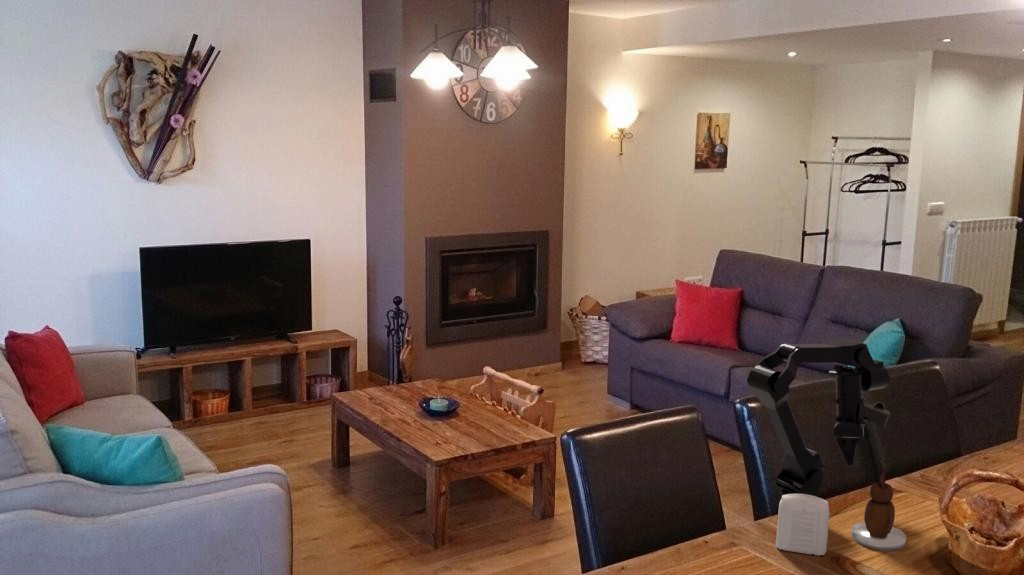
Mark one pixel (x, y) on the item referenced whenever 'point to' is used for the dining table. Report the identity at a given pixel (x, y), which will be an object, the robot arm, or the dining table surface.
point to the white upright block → (803, 524)
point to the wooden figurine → (880, 508)
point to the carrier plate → (879, 538)
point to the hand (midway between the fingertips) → (851, 460)
